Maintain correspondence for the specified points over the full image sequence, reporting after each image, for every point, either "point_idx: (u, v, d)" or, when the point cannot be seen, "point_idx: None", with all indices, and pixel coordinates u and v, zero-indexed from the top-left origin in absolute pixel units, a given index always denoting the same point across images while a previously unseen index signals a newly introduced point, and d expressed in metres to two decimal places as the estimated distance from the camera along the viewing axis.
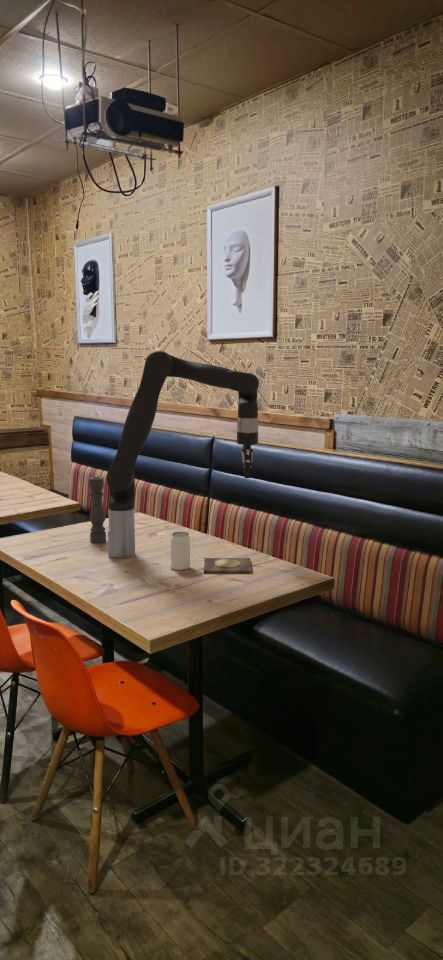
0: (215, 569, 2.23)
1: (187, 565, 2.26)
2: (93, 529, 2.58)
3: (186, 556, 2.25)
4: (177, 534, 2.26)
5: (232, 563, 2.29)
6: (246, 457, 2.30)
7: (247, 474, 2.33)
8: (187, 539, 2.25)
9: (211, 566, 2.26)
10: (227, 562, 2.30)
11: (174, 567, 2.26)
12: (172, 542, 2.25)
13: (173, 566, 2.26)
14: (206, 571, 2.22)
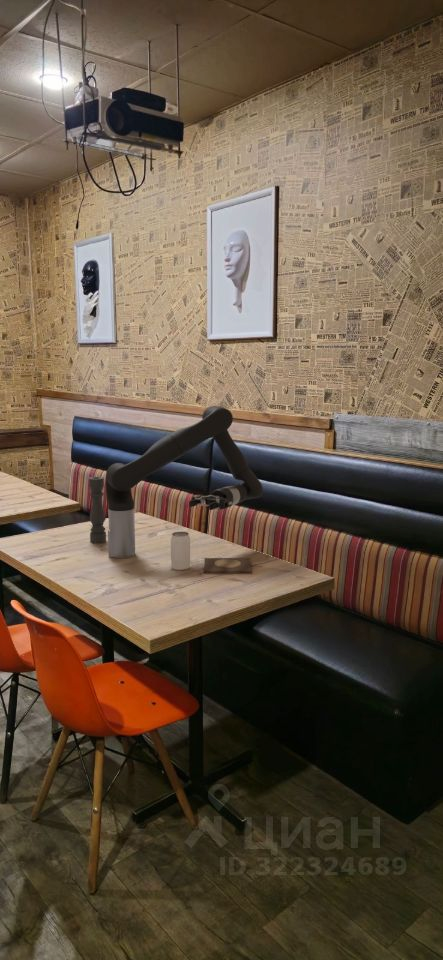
0: (215, 569, 2.23)
1: (187, 565, 2.26)
2: (93, 529, 2.58)
3: (186, 556, 2.25)
4: (177, 534, 2.26)
5: (232, 563, 2.29)
6: (228, 502, 2.36)
7: None
8: (187, 539, 2.25)
9: (211, 566, 2.26)
10: (227, 562, 2.30)
11: (174, 567, 2.26)
12: (172, 542, 2.25)
13: (173, 566, 2.26)
14: (206, 571, 2.22)
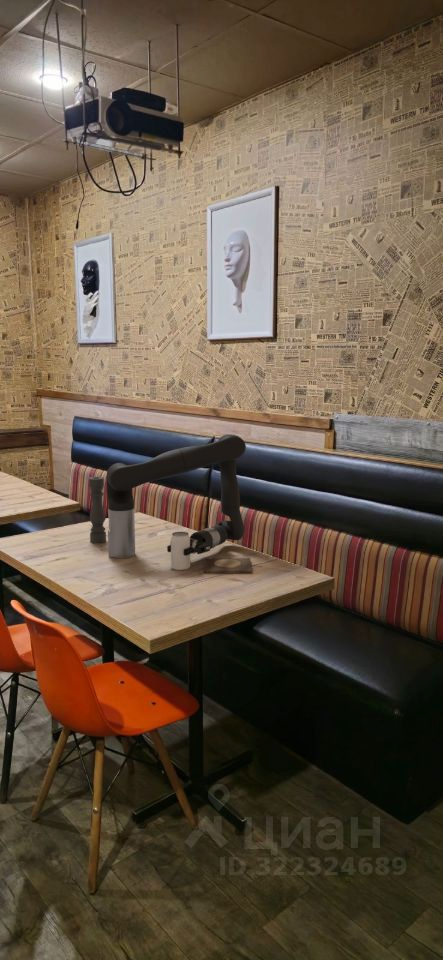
0: (215, 569, 2.23)
1: (187, 565, 2.26)
2: (93, 529, 2.58)
3: (186, 556, 2.25)
4: (177, 534, 2.26)
5: (232, 563, 2.29)
6: (205, 547, 2.28)
7: None
8: (187, 539, 2.25)
9: (211, 566, 2.26)
10: (227, 562, 2.30)
11: (174, 567, 2.26)
12: (172, 542, 2.25)
13: (173, 566, 2.26)
14: (206, 571, 2.22)
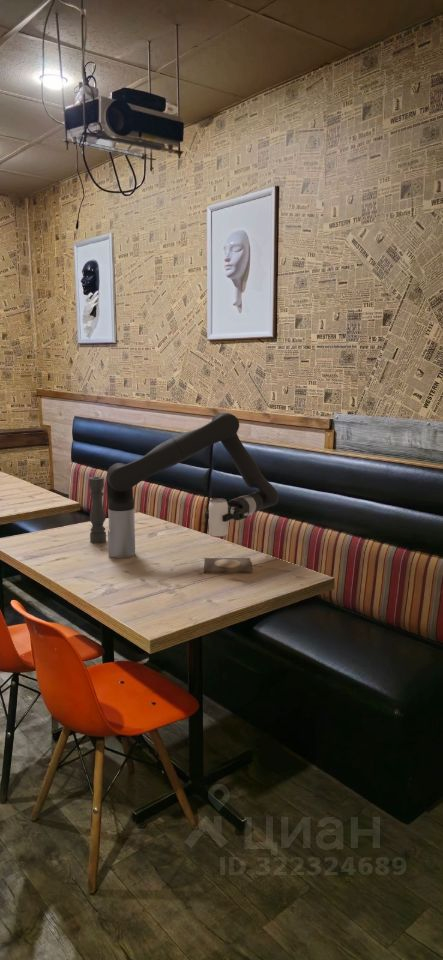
0: (215, 569, 2.23)
1: (225, 531, 2.25)
2: (93, 529, 2.58)
3: (224, 522, 2.24)
4: (215, 501, 2.25)
5: (232, 563, 2.29)
6: (243, 513, 2.26)
7: None
8: (225, 505, 2.23)
9: (211, 566, 2.26)
10: (227, 562, 2.30)
11: (212, 534, 2.25)
12: (210, 509, 2.24)
13: (211, 533, 2.25)
14: (206, 571, 2.22)
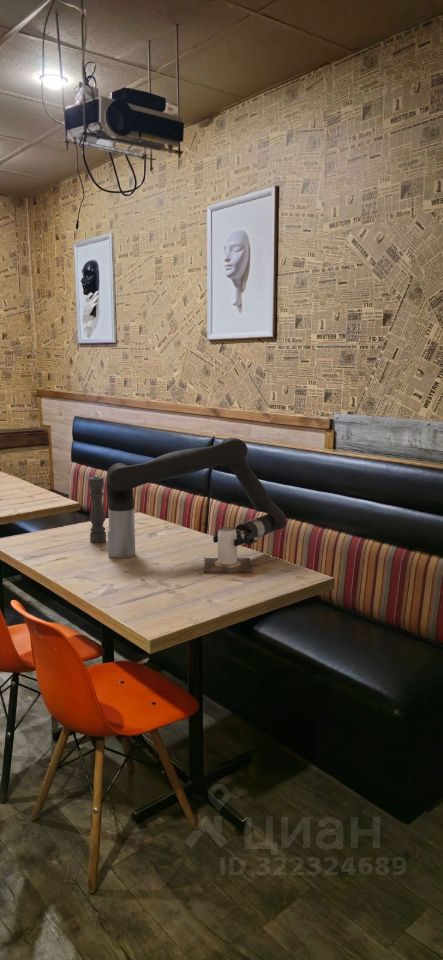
0: (215, 569, 2.23)
1: (234, 560, 2.27)
2: (93, 529, 2.58)
3: (233, 550, 2.26)
4: (224, 529, 2.27)
5: None
6: (253, 538, 2.28)
7: None
8: (234, 534, 2.25)
9: (211, 566, 2.26)
10: None
11: (222, 562, 2.27)
12: (219, 537, 2.26)
13: (221, 561, 2.27)
14: (206, 571, 2.22)
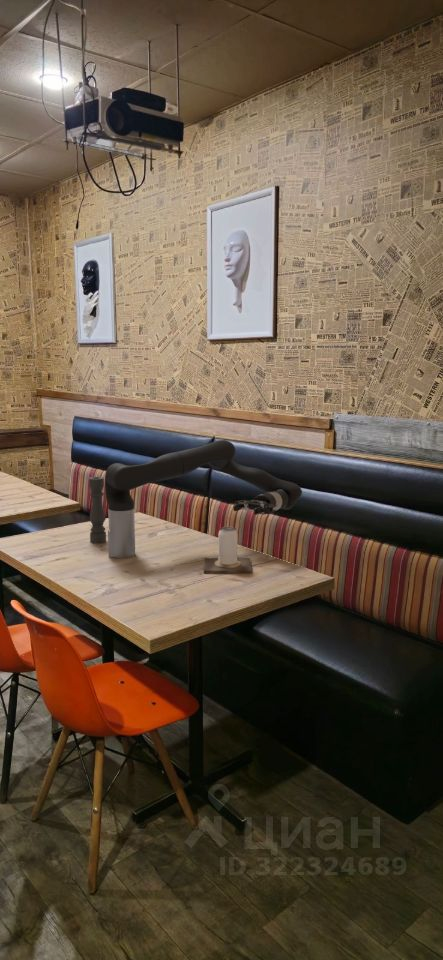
0: (215, 569, 2.23)
1: (234, 560, 2.27)
2: (93, 529, 2.58)
3: (234, 551, 2.26)
4: (224, 529, 2.27)
5: None
6: (272, 507, 2.37)
7: None
8: (235, 534, 2.25)
9: (211, 566, 2.26)
10: None
11: (222, 562, 2.27)
12: (220, 537, 2.26)
13: (221, 561, 2.27)
14: (206, 571, 2.22)
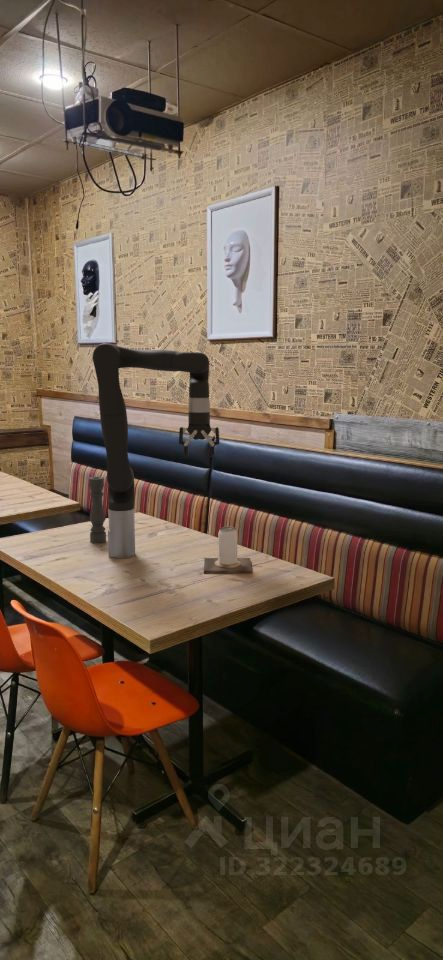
0: (215, 569, 2.23)
1: (234, 560, 2.27)
2: (93, 529, 2.58)
3: (234, 551, 2.26)
4: (224, 529, 2.27)
5: None
6: None
7: None
8: (234, 534, 2.25)
9: (211, 566, 2.26)
10: None
11: (221, 562, 2.27)
12: (220, 537, 2.26)
13: (220, 561, 2.27)
14: (206, 571, 2.22)
